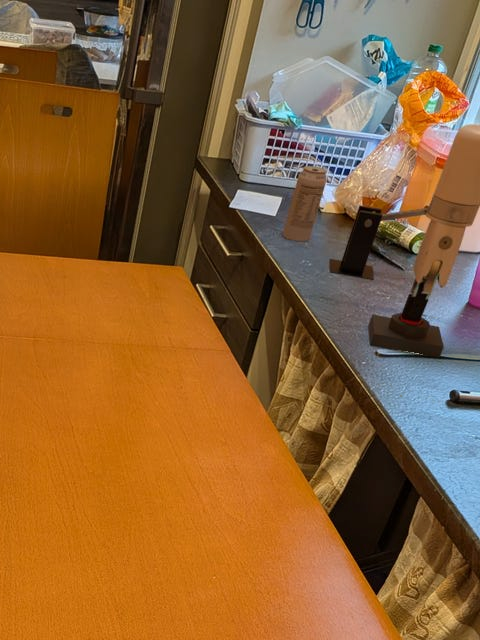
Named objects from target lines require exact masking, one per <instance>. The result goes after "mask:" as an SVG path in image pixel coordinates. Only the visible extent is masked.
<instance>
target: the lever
mask: <svg viewBox="0 0 480 640" xmlns="http://www.w3.org/2000/svg"><path fill="white" fill-rule="evenodd" d="M428 208H429V205H425V206H424V207H423V208H417V209H409V210H402V211H395V212H388V213H381V214H382V218H381V221H380V222H384V221H391V220H397V219H405V218H413V217H419V216H425V217H426V218H428V217H427V216H426V213H427V211H428ZM371 212H373V213H375V211H371Z"/></svg>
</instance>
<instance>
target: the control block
mask: <svg viewBox="0 0 480 640" xmlns="http://www.w3.org/2000/svg"><path fill="white" fill-rule="evenodd" d="M401 314H402V312H400V313H399V312H396V313H394V314H392V315H391V317H389V316H384V315H379V314H371V317H370V319H369V323H368V325H367V327H368V328H367V329H368V339H369V346H371V347H377V348H382V349H387V350H392V349H393V350H392V351H397V350H401V351H400V352H403V351H408V352H414V353H419V354H423V355H422V356H424V355H427V356H426V357H429V356H431V358H435V357H436V359H440V357H441V355H442V353H443V350H444V348H445V346H444V341H443V338H442V333H441V330H440V326H438V325H437V326H436V325H431V323H430V322H429V320H427V319H425V318H424V317H422V318H421V325H412V324H407V323H405V322H402V321H401V320H400V318H401V317H402V315H401ZM408 352H407V353H408ZM419 354H418V355H419Z"/></svg>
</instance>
